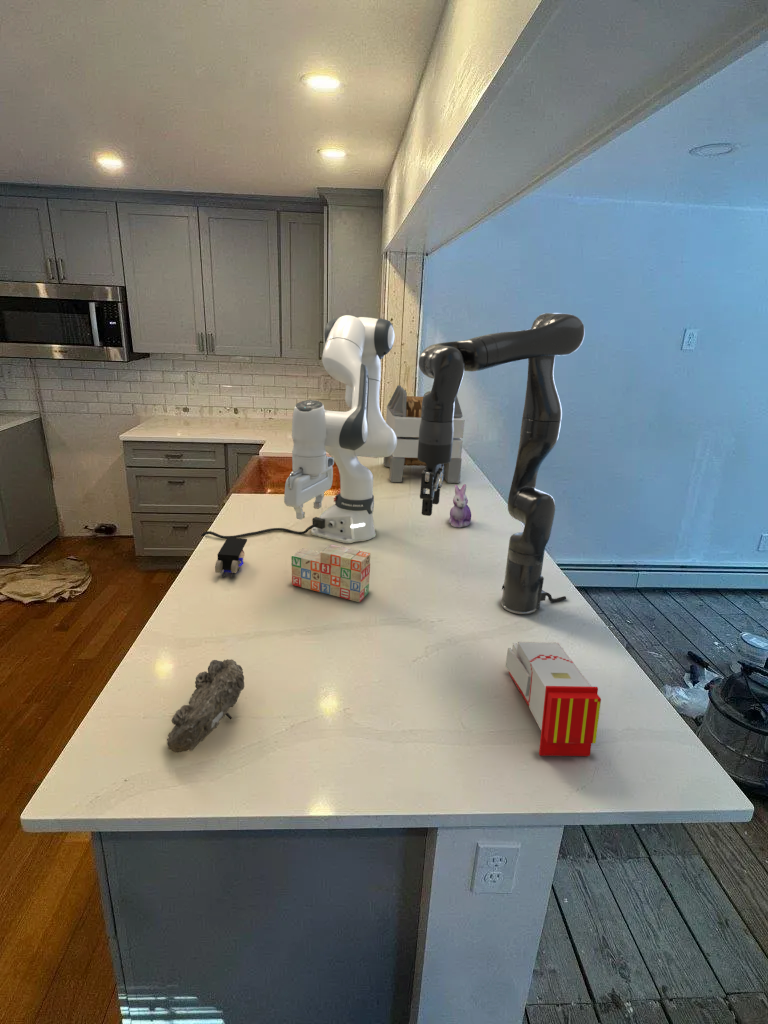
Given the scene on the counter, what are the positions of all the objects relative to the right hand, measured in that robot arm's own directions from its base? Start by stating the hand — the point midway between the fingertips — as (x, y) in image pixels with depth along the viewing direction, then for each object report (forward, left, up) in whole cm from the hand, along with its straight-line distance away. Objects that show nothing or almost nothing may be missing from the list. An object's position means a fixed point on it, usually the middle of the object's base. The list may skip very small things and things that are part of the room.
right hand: (430, 509), depth 130 cm
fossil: (+51, +18, -32) cm, 63 cm away
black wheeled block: (+41, -46, -32) cm, 69 cm away
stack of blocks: (+16, -27, -32) cm, 45 cm away
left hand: (+21, -31, -10) cm, 39 cm away
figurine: (-44, -64, -32) cm, 84 cm away
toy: (-12, +34, -32) cm, 48 cm away
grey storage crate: (-56, -131, -32) cm, 146 cm away
